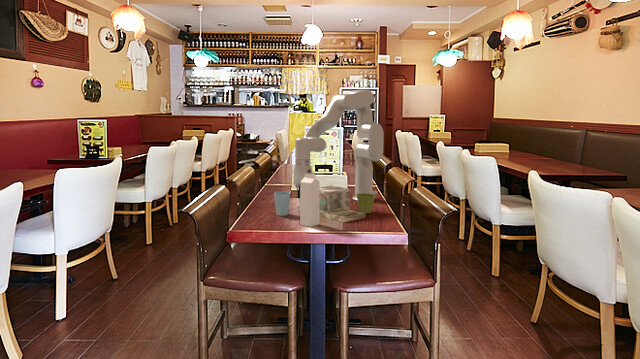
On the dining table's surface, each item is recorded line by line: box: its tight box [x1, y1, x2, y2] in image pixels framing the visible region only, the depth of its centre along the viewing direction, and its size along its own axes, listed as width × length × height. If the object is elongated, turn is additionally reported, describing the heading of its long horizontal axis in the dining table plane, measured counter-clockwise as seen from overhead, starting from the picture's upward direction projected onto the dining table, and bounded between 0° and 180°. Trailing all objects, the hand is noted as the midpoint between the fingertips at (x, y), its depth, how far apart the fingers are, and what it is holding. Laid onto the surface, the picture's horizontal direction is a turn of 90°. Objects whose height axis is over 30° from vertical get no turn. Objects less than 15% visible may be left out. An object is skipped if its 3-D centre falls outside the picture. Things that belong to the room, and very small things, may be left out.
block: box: [319, 196, 333, 207], centre depth 224 cm, size 5×5×5 cm
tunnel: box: [297, 185, 366, 223], centre depth 221 cm, size 32×14×12 cm, turn 43°
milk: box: [299, 173, 321, 228], centre depth 200 cm, size 6×6×22 cm
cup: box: [273, 191, 292, 217], centre depth 219 cm, size 8×8×10 cm
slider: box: [319, 203, 338, 211], centre depth 229 cm, size 22×9×8 cm, turn 43°
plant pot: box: [356, 193, 377, 215], centre depth 225 cm, size 9×9×9 cm
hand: (302, 198), depth 236 cm, fingers closed on slider, 3 cm apart
